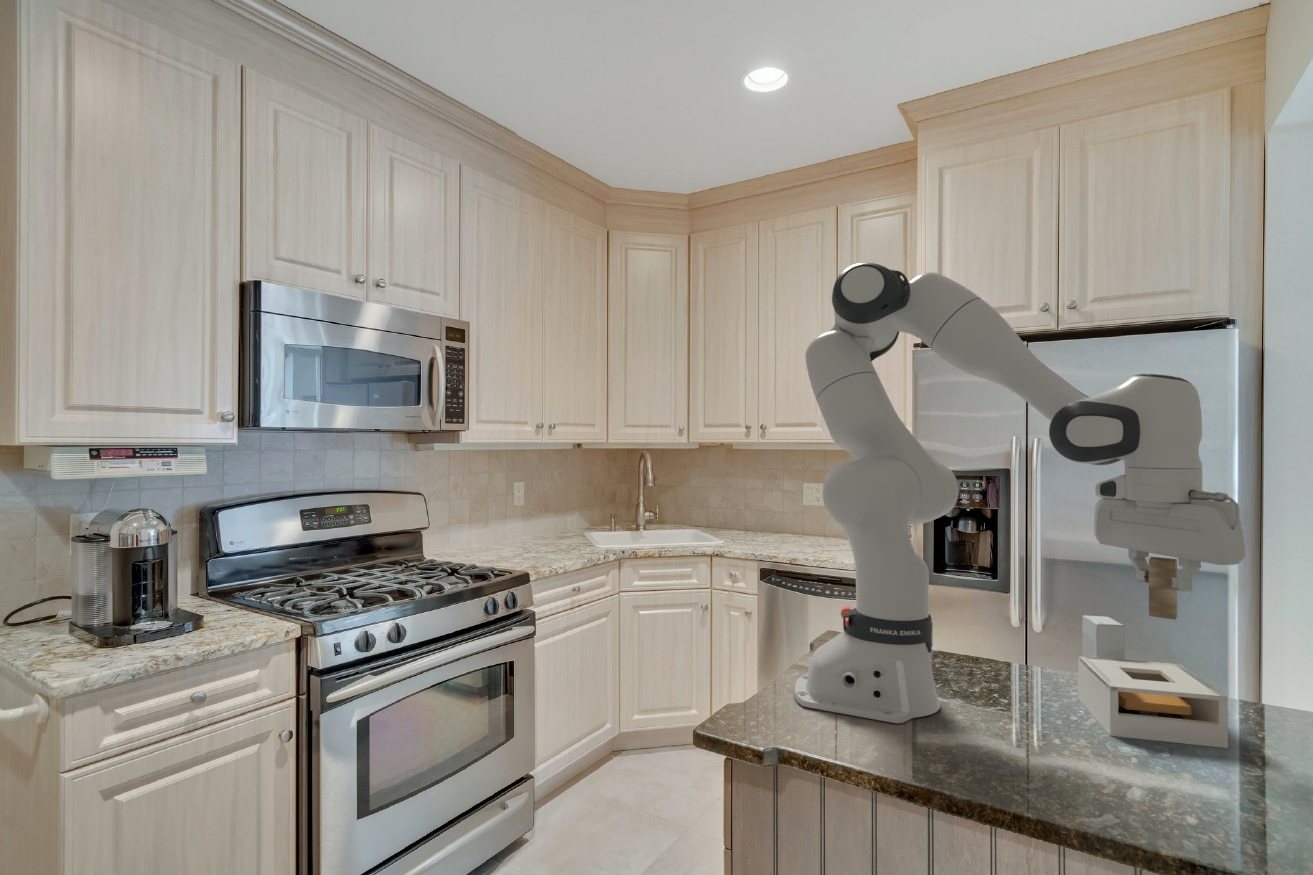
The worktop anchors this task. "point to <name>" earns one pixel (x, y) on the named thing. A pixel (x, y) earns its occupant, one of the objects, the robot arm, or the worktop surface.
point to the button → (1153, 703)
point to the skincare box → (1102, 637)
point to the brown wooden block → (1162, 588)
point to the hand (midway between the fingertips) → (1163, 586)
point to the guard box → (1113, 675)
